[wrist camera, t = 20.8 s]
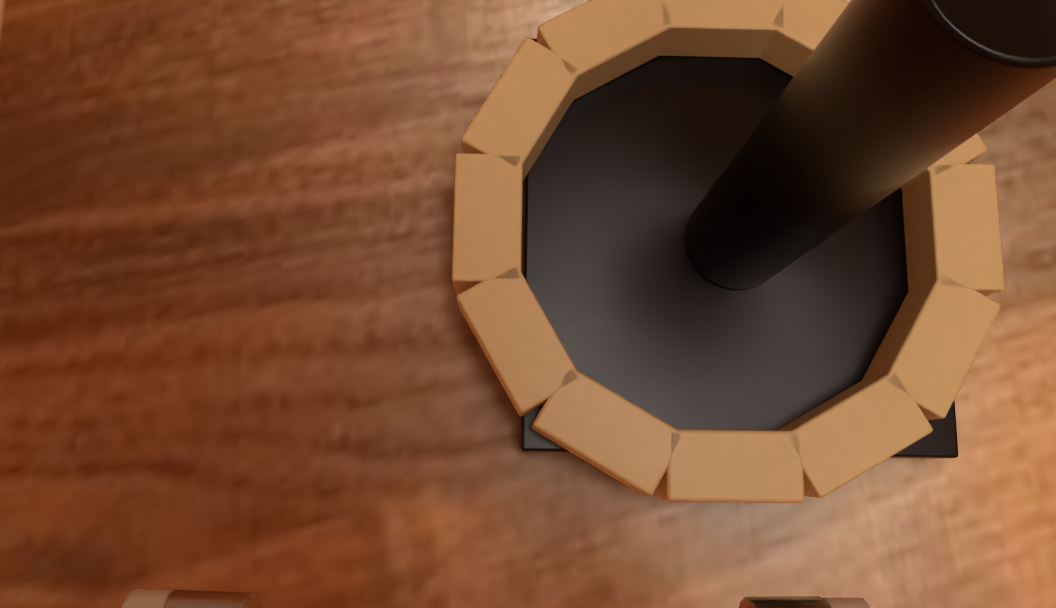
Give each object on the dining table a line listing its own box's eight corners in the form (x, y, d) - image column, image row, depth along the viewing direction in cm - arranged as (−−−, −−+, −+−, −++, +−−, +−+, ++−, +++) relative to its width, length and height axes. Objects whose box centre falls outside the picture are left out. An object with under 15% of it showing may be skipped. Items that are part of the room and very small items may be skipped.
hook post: (520, 452, 21) (545, 430, 8) (526, 59, 23) (554, -458, 10) (934, 458, 22) (1579, 447, 9) (909, 69, 23) (1413, -423, 10)
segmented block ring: (449, 496, 20) (445, 498, 19) (463, -5, 22) (460, -39, 21) (986, 502, 20) (1024, 505, 19) (948, 6, 22) (979, -25, 21)
